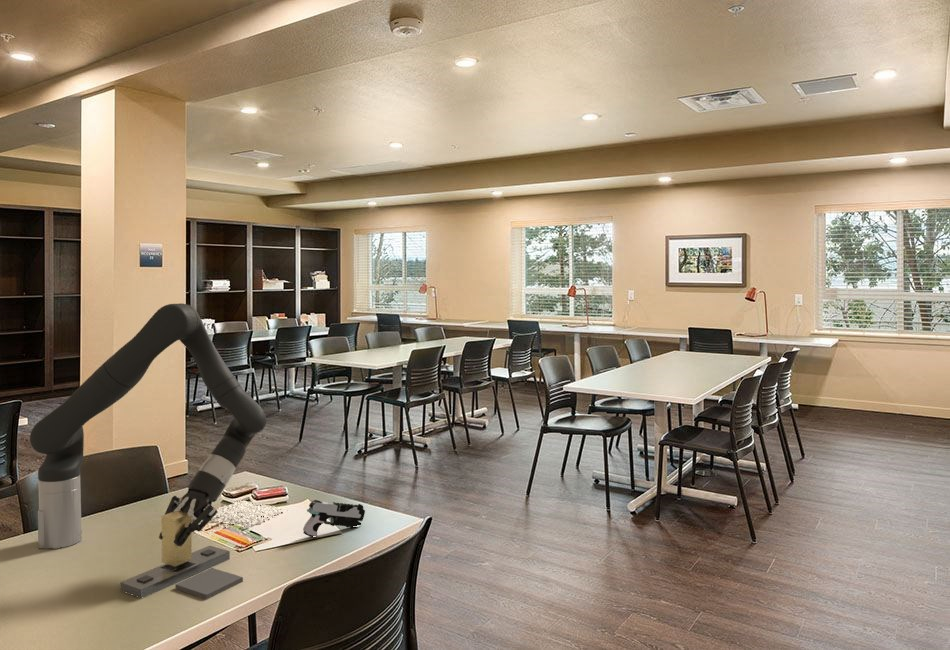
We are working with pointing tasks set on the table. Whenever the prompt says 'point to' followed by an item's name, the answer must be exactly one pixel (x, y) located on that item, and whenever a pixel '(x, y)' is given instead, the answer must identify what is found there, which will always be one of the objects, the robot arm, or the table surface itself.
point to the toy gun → (332, 515)
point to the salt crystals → (245, 508)
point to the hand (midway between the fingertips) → (169, 542)
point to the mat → (209, 583)
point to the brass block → (170, 531)
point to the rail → (165, 576)
